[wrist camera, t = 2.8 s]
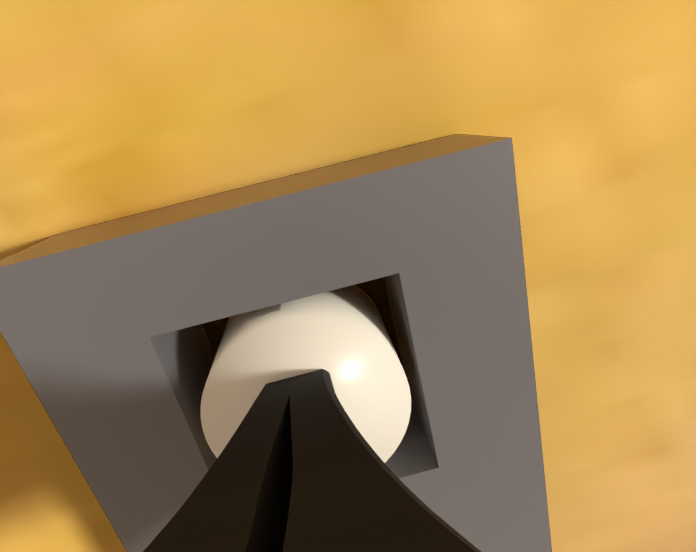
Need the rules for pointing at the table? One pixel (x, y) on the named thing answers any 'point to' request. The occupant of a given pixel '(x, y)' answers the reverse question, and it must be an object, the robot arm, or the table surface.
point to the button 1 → (311, 365)
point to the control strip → (283, 286)
